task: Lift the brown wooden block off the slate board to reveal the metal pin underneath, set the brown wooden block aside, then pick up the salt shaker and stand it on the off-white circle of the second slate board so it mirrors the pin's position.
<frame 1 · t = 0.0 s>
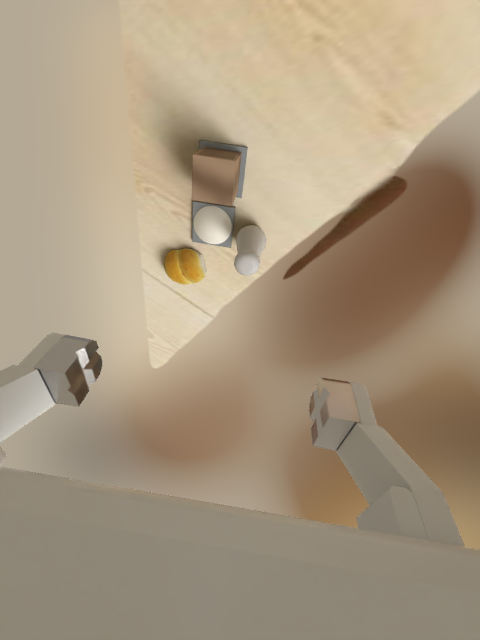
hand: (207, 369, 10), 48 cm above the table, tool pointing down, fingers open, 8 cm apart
bread roll: (187, 263, 63), on the table
brown wooden block: (221, 170, 49), point 1 cm above the table, touching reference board
salt shaker: (252, 235, 57), on the table
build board: (213, 224, 56), on the table
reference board: (222, 169, 50), on the table
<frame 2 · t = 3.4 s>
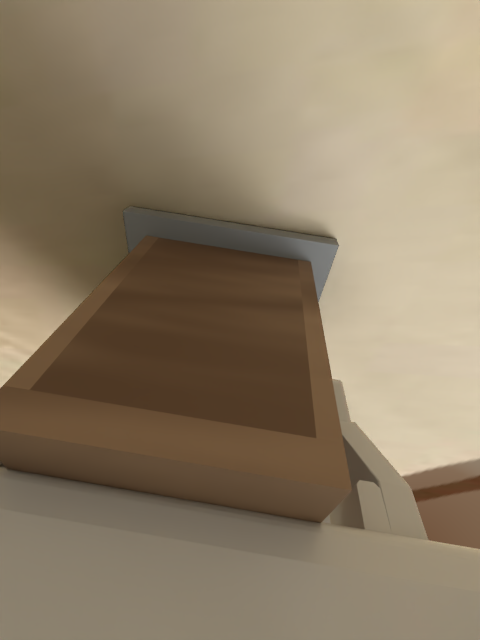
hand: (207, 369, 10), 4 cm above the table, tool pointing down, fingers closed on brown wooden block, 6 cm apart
brown wooden block: (221, 313, 13), point 1 cm above the table, touching gripper, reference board
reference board: (223, 306, 13), on the table
when the fingers open (5 cm above the table, at t = 8.6 s): brown wooden block drops 1 cm, on the table.
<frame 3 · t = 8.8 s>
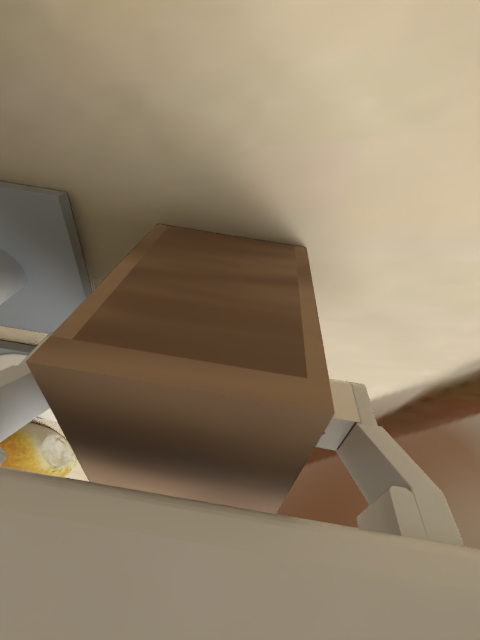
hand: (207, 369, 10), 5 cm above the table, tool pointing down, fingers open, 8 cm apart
bread roll: (33, 436, 27), on the table
brown wooden block: (225, 297, 14), on the table
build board: (50, 384, 20), on the table
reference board: (10, 263, 14), on the table
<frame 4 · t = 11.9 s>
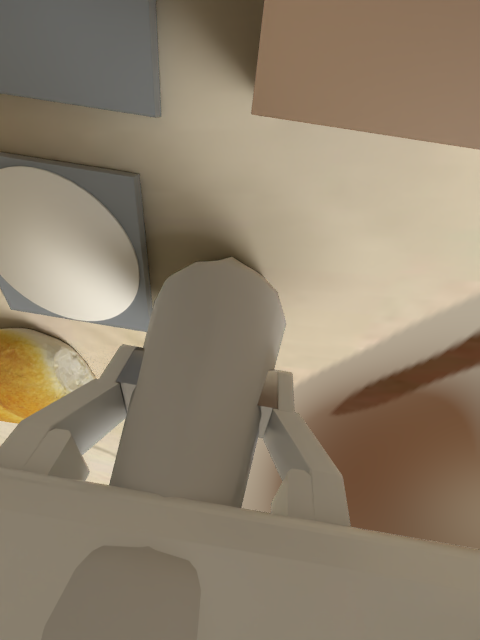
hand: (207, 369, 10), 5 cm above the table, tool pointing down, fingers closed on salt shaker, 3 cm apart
bread roll: (41, 361, 20), on the table
salt shaker: (227, 291, 14), on the table, touching gripper
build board: (67, 250, 14), on the table
when the fingers open (7 cm above the table, at t = 16.9 s): salt shaker drops 1 cm, resting on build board.
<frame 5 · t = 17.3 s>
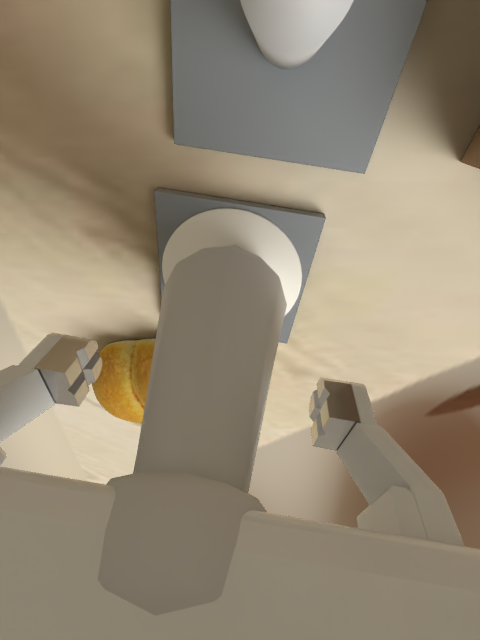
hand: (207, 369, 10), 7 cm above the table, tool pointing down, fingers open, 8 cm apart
bread roll: (162, 368, 22), on the table
salt shaker: (230, 278, 15), point 1 cm above the table, touching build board
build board: (232, 273, 16), on the table
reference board: (290, 24, 10), on the table
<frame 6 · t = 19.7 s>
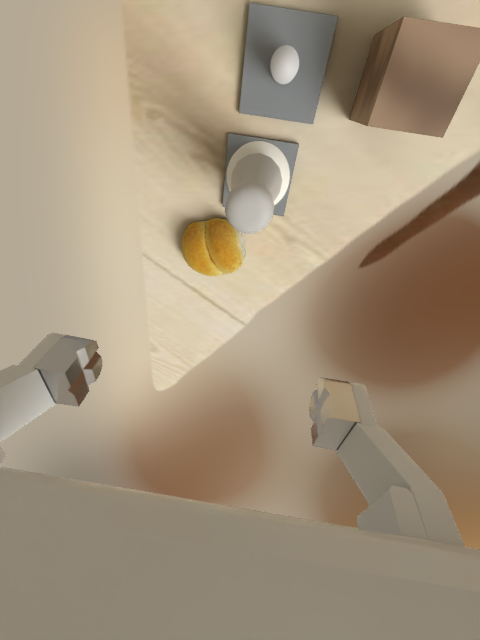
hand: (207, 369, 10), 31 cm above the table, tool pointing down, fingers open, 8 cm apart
bread roll: (216, 243, 41), on the table
brown wooden block: (393, 85, 28), on the table
salt shaker: (257, 177, 34), point 1 cm above the table, touching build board
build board: (258, 176, 34), on the table
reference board: (283, 69, 28), on the table
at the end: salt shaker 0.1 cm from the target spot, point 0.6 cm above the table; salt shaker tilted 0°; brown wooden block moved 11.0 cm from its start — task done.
